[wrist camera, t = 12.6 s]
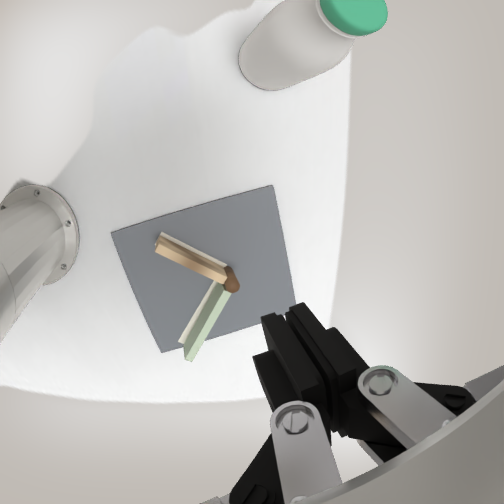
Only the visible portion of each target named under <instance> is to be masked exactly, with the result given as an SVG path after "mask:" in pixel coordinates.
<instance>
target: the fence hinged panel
mask: <svg viewBox="0 0 504 504" xmlns="http://www.w3.org/2000/svg"><path fill="white" fill-rule="evenodd" d="M231 294H232V293H230V292H228V291H227V289H226V287H225V284H221V283H219V282H218V283H217V285H216V287H215V289H214V290H213V292H212V294H211V296H210V298H209V299H208V301H207V303H206V305H205V307H204V309H203V310H202V312H201V314H200V316H199V318H198V319H197V321H196V323H195V325H194V327H193V329H192V330H191V332H190V334H189V336H188V338H187V340H186V341H185V343H184V345H183V347H184V356H185V360H187V361H190V362H192V361H193V359H194V358H195V356H196V354H197V352H198V351H199V349H200V347H201V346H202V344H203V342H204V340H205V339H206V337H207V335H208V333H209V332H210V330H211V328H212V327H213V325H214V323H215V321H216V320H217V318H218V316H219V314H220V313H221V311H222V309H223V307H224V306H225V304H226V302H227V301H228V299H229V297H230V295H231Z"/></svg>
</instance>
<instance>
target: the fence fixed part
mask: <svg viewBox="0 0 504 504" xmlns="http://www.w3.org/2000/svg"><path fill="white" fill-rule="evenodd" d="M155 252H156V253H158V254H160V255H162V256H164V257H166V258H168V259H170V260H173V261H175V262H177V263H179V264H181V265H183V266H185V267H187V268H189V269H191V270H193V271H195V272H197V273H200V274H202V275H204V276H206V277H208V278H210V279H212V280H214V281H217V282H219V283H221V284H225V287H226V289H227V291H228V292H230V293H235V292H237V291H238V290H239V289H240V284H239V282H238V280H237V277H236V275H235V273H234V271H233V269H232V268H231V267H229V266H226V267H224V268H223V266H221V265H218V264H216V263H214V262H212V261H210V260H208V259H206V258H204V257H202V256H200V255H198V254H196V253H194V252H192V251H190V250H188V249H186V248H184V247H182V246H180V245H178V244H176V243H174V242H172V241H170V240H168V239H166V238H164V237H162V236H159V238H158V240H157V242H156V247H155Z"/></svg>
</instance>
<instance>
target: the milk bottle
mask: <svg viewBox="0 0 504 504" xmlns="http://www.w3.org/2000/svg"><path fill="white" fill-rule="evenodd" d="M387 15H388V12H387V6H386V3H385V1H384V0H285V1H283V2H281V3H280V4H278V5H277V6H276V7H275V8H273V9H272V10H271V11H270V12H269V13H268V14H267V15H266V16H265V18H264V19H263V20H262V21H261V22H260V23H259V24H258V26H257V27H256V28H255V29H254V31H253V32H252V33H251V34H250V36H249V37H248V38H247V39H246V41H245V42H244V44H243V45H242V47H241V49H240V52H239V66H240V69H241V71H242V73H243V75H244V76H245V77H246V78H247V80H248V81H250V82H251V83H252V84H253V85H255V86H257V87H259V88H262V89H265V90H273V91H274V90H281V89H284V88H287V87H290V86H292V85H295V84H297V83H300V82H302V81H305V80H307V79H309V78H312V77H314V76H317V75H319V74H321V73H323V72H326V71H328V70H330V69H332V68H333V67H335V66H336V65H338V64H339V63H340V62H341V61H342V60H343V59H344V58H345V57H346V56H347V54H348V53H349V51H350V50H351V48H352V45H353V43H354V39H355V38H361V37H364V36H365V35H368V34H371V33H373V32H376V31H378V30H379V29H381V28H382V27H383V25H384V24H385V23H386V21H387Z"/></svg>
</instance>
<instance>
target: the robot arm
mask: <svg viewBox="0 0 504 504" xmlns="http://www.w3.org/2000/svg"><path fill="white" fill-rule="evenodd" d="M38 190H39V192H40V194H39V193H38ZM5 207H6V208H5ZM69 220H70V221H71V224H70V223H69V222H68V221H69ZM78 247H79V232H78V226H77V223H76V219H75V216H74V214H73V212H72V210H71V208H70V207H69V205H68V204H67V203H66V201H65V200H64V199H63V198H62V197H61V196H60V195H59V194H58V193H56V192H55V191H53V190H51V189H50V188H47V187H44V186H40V185H26V186H23V187H20V188H18V189H16V190H14V191H12V192H11V193H10V194H8V195H7V196H6V197H5V198H4V200H3V201H2V202H1V204H0V344H1V342H2V341H3V339H4V338H5V336H6V334H7V333H8V331H9V330H10V329H11V327H12V326H13V324H14V323H15V321H16V320H17V318H18V317H19V316H20V314H21V313H22V311H23V310H24V308H25V307H26V306H27V304H28V303H29V302H30V300H31V299H32V297H33V296H34V295H35V293H36V292H37V291H38V289H39V288H40V287H41V285H47V284H52V283H54V282H56V281H58V280H59V279H61V278H62V277H63V276H64V275H65V274H66V273H67V272H68V271H69V269H70V268H71V266H72V265H73V263H74V261H75V258H76V256H77V252H78ZM64 264H66V266H65V265H64ZM285 317H286V320H285V319H284V317H283V315H282V314H279V315H276V313H275V312H273V313H270V314H267V315H264V316H261V317H260V318H261V323H262V327H263V331H264V335H265V339H266V342H267V346H268V350H269V351H267V352H264V353H261V354H258V355H255V356H253V361H254V364H255V367H256V370H257V374H258V377H259V379H260V382H261V385H262V388H263V390H264V393H265V395H266V398H267V400H268V402H269V404H270V407H271V409H272V412H273V414H272V416H271V419H270V427H271V434H270V436H269V437H268V439H267V440H266V442H265V443H264V445H263V446H262V448H261V449H260V451H259V452H258V454H257V455H256V457H255V458H254V459H253V461H252V462H251V464H250V465H249V467H248V468H247V470H246V471H245V472H244V474H243V475H242V476H241V478H240V479H239V481H238V482H237V483H236V485H235V486H234V487H233V489H232V491H231V493H229V494H227V495H225V496H223V497H221V498H218V497H215V498H212V499H210V500H208V501H205V502H203V503H200V504H504V365H503V366H501V367H499V368H497V369H495V370H493V371H491V372H489V373H487V374H484V375H482V376H480V377H478V378H476V379H474V380H471V381H469V382H467V383H465V385H464V387H459V386H451V385H438V384H426V383H416V382H412V381H411V380H409V379H408V378H407V377H406V376H404V375H403V374H402V373H400V372H399V371H398V370H396V369H394V368H393V367H389V366H375V367H371V368H370V367H369V366H368V365H367V364H366V363H365V361H364V360H363V359H362V358H361V357H360V356H359V354H358V353H357V352H356V351H355V350H354V348H353V347H352V346H351V345H350V344H349V343H348V341H347V340H346V339H345V338H344V337H343V335H342V334H341V333H340V332H339V331H338V330H337V329H336V328H335V327H332V328H330V329H327V330H326V329H325V328H324V327H323V326H322V324H321V323H320V322H319V321H318V319H317V318H316V317H315V316H314V314H313V313H312V312H311V311H310V309H309V308H308V307H307V306H306V304H305V303H304V302H302V303H299V304H296V305H294V306H291V307H289V311H288V312H285ZM331 431H332V432H333V433H334V432H336V431H338V433H339V434H340V436H341V437H344V436H347V435H348V437H349V438H353V439H357V442H358V443H359V445H360V446H361V447H362V448H363V449H364V450H365V452H366V453H367V454H368V455H369V456H370V457H371V458H372V459H373V460H374V461H375V462H376V463H377V464H378V465H379V466H378V467H376V468H374V469H372V470H370V471H368V472H366V473H364V474H362V475H360V476H358V477H356V478H354V479H351V480H349V481H347V482H345V483H343V484H342V480H341V478H340V474H339V472H338V468H337V465H336V462H335V459H334V456H333V453H332V450H331Z"/></svg>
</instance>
